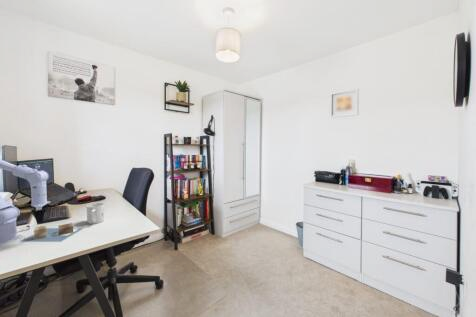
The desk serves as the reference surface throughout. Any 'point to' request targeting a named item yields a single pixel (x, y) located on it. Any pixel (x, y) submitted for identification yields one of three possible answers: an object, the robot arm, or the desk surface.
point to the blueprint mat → (52, 236)
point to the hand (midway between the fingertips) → (40, 220)
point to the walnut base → (65, 229)
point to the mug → (95, 213)
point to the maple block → (40, 232)
